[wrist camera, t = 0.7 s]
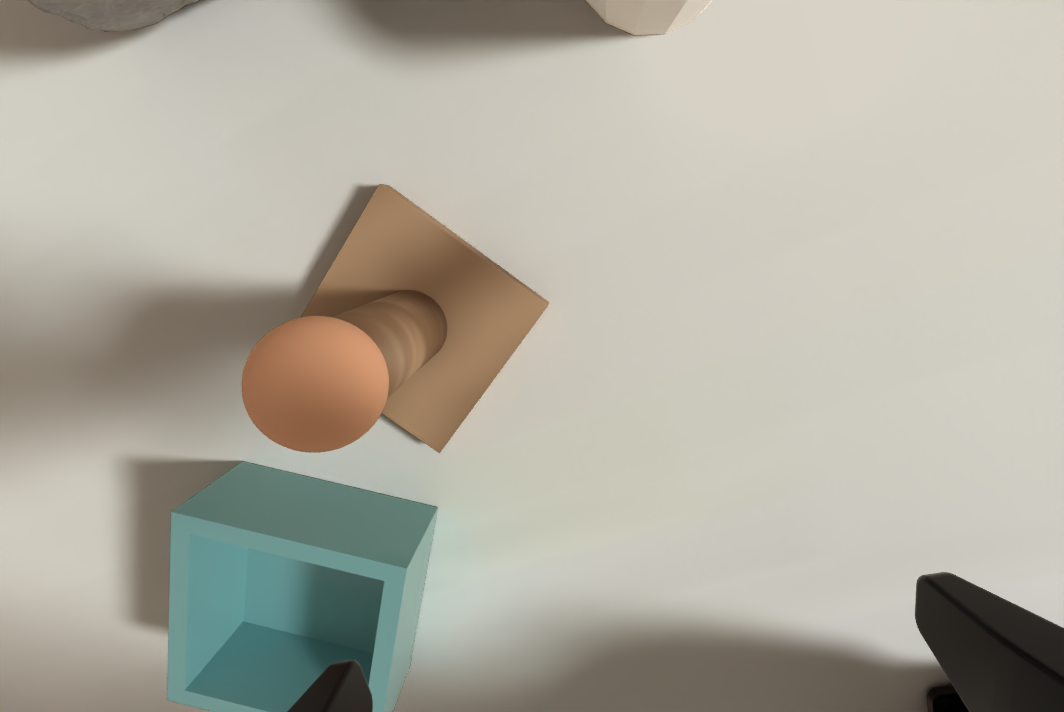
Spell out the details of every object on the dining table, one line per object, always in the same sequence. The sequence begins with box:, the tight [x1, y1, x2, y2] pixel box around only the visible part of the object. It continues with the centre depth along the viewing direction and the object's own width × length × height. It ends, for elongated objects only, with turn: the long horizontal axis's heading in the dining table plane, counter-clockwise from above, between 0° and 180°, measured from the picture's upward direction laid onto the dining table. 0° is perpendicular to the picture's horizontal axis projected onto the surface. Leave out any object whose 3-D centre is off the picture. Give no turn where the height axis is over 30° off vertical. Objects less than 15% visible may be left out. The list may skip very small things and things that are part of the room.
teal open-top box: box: [167, 461, 438, 712], centre depth 24 cm, size 10×10×4 cm
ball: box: [242, 316, 389, 452], centre depth 14 cm, size 4×4×4 cm
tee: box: [301, 184, 549, 453], centre depth 19 cm, size 8×8×7 cm
